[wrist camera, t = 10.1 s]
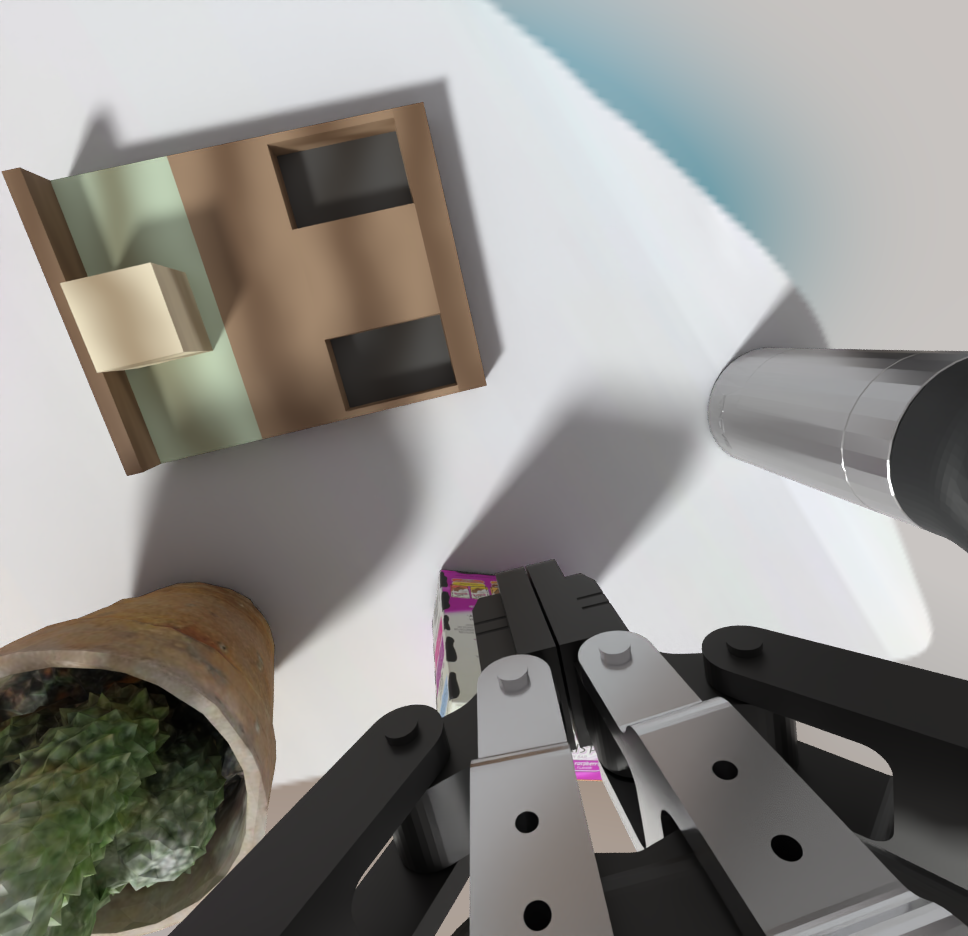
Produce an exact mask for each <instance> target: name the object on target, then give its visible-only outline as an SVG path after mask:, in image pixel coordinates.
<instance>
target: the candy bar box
mask: <svg viewBox="0 0 968 936" xmlns="http://www.w3.org/2000/svg"><path fill="white" fill-rule="evenodd" d="M497 593H499V589H498V585H497V580H496V575H489V574H478V573H468V572H458V571H448V570H440V574H439V582H438V588H437V594H436V600H435V607H434V614H433V621H432V627H433V646H434V662H435V685H436V705H437V711H438V712H439V713H440V715H441V717H444V716H446V715H448V714H450V713H452V712H454V711H456V710H457V709H459V708H461V707H462V706H464V705H465V704H466V703H468V702H469V701H470V700H471V699H472V698H473V697H474V695H475V694H476V693H477V681H478V678H479V676H480V674H481V667H480V661H479V654H478V648H477V641H476V634H475V628H474V621H473V615H472V610H473V608H474V606H475V604H476V602H477V600H478V599H479V598H481V597H485V596H489V595H493V594H497ZM573 732H574V730H573ZM574 737H575V742H576V747H577V749H576V750H572V751H571V753H572V757H573V762H574V767H575V773H576V777H577V780H587V781H602V778H601V773H600V768H599V763H598V757H597V754H596V751H595V749H594V746H593V745H591V746H587V747H583V748H580V746H579V743H578V741H577V738H576V735H575V732H574Z"/></svg>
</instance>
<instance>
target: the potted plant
mask: <svg viewBox="0 0 968 936" xmlns="http://www.w3.org/2000/svg"><path fill="white" fill-rule="evenodd" d="M274 646H275V645H274V642H273V638H272V634H271V631H270V627H269V625H268V623H267V622H266V620H265V618H264V617H263V615H262V614H261V612H260V611H259V610H258V609H257V608H256V607H255V606H254V605H253V604H252V602H251V600H250V599H248V598H247V597H245V596H243V595H241V594H239V593H237V592H235V591H234V590H232V589H227V588H223V587H219V586H215V585H211V584H206V583H201V582H194V583H177V584H174V585H171V586H168V587H165V588H162V589H158V590H156V591H154V592H151V593H148V594H146V595H143V596H140V597H135V598H127V599H122V600H120V601H118V602H116V603H114V604H112V605H110V606H108V607H106V608H103V609H100V610H98V611H95V612H93V613H90V614H88V615H85V616H83V617H80V618H78V619H72V620H69V621H65V622H61V623H57V624H53V625H49V626H47V627H44V628H42V629H40V630H38V631H36V632H33V633H31V634H29V635H27V636H25V637H23V638H20V639H18V640H16V641H14V642H12V643H9V644H8V645H6V646H4V647H2V648H0V936H141V935H145V934H149V933H152V932H156V931H159V930H162V929H165V928H167V927H170V926H172V925H175V924H177V923H180V922H182V921H183V920H184V919H185V918H186V917H187V916H188V915H189V914H190V913H191V911H192V910H193V909H194V908H195V907H196V906H197V905H198V904H199V903H200V902H201V901H202V900H203V899H204V898H205V897H206V896H207V895H208V894H209V893H210V892H211V891H212V890H213V889H214V888H215V887H216V886H217V885H218V884H219V883H220V882H221V881H222V880H223V879H224V878H225V877H226V876H227V874H228V873H229V872H230V871H231V870H232V869H233V868H234V867H235V866H236V865H237V864H238V863H239V862H240V861H241V860H242V859H243V858H244V857H245V856H246V855H247V854H248V853H249V852H250V851H251V850H252V849H253V848H254V847H255V846H256V845H257V844H258V843H259V842H260V841H261V840H262V839H263V837H264V835H265V833H266V821H267V809H268V804H269V798H270V792H271V786H272V780H273V775H274V770H275V763H276V741H275V735H274V729H273V724H272V723H273V702H274Z"/></svg>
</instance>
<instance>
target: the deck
mask: <svg viewBox="0 0 968 936" xmlns="http://www.w3.org/2000/svg"><path fill="white" fill-rule="evenodd" d="M2 174H3V176H4V179H5V181H6V183H7V186H8V188H9V191H10V193H11V196H12V198H13V200H14V203H15V205H16V208H17V210H18V213H19V215H20V217H21V220H22V222H23V225H24V227H25V230H26V232H27V234H28V237H29V239H30V242H31V244H32V247H33V249H34V251H35V254H36V256H37V259H38V261H39V264H40V266H41V268H42V271H43V273H44V276H45V278H46V281H47V283H48V285H49V288H50V290H51V293H52V295H53V298H54V300H55V302H56V305H57V307H58V310H59V312H60V315H61V317H62V319H63V322H64V324H65V327H66V329H67V332H68V334H69V336H70V339H71V341H72V344H73V346H74V349H75V351H76V353H77V356H78V358H79V361H80V363H81V366H82V368H83V370H84V373H85V375H86V378H87V380H88V383H89V385H90V387H91V390H92V392H93V395H94V397H95V400H96V402H97V404H98V407H99V409H100V412H101V414H102V417H103V419H104V421H105V424H106V426H107V429H108V431H109V434H110V436H111V438H112V441H113V443H114V446H115V448H116V451H117V453H118V455H119V458H120V460H121V463H122V465H123V468H124V470H125V472H126V475H127V476H129V475H133V474H138V473H142V472H144V471H146V470H149V469H151V468H153V467H155V466H157V465H159V464H162V463H166V462H170V461H174V460H178V459H183V458H187V457H191V456H195V455H199V454H203V453H208V452H212V451H216V450H220V449H224V448H228V447H232V446H237V445H241V444H245V443H249V442H253V441H257V440H262V439H266V438H270V437H274V436H278V435H282V434H287V433H291V432H295V431H299V430H303V429H307V428H312V427H316V426H320V425H324V424H328V423H332V422H337V421H341V420H345V419H349V418H353V417H357V416H361V415H366V414H370V413H374V412H378V411H382V410H386V409H391V408H395V407H399V406H403V405H407V404H411V403H416V402H420V401H424V400H428V399H432V398H436V397H441V396H445V395H449V394H453V393H457V392H461V391H466V390H470V389H474V388H478V387H482V386H486V385H487V384H486V380H485V376H484V371H483V367H482V362H481V358H480V353H479V349H478V344H477V340H476V335H475V331H474V326H473V322H472V317H471V313H470V309H469V304H468V300H467V295H466V291H465V286H464V282H463V277H462V273H461V268H460V264H459V259H458V255H457V251H456V246H455V242H454V237H453V233H452V228H451V224H450V219H449V215H448V210H447V206H446V201H445V197H444V192H443V188H442V184H441V179H440V175H439V170H438V166H437V161H436V157H435V152H434V148H433V143H432V139H431V134H430V130H429V125H428V121H427V117H426V112H425V108H424V103H423V102H421V103H416V104H411V105H407V106H402V107H397V108H392V109H388V110H383V111H378V112H373V113H369V114H364V115H359V116H354V117H350V118H345V119H340V120H335V121H331V122H326V123H321V124H316V125H312V126H307V127H302V128H297V129H293V130H288V131H283V132H278V133H274V134H269V135H264V136H260V137H255V138H250V139H245V140H241V141H236V142H231V143H226V144H222V145H217V146H212V147H207V148H203V149H198V150H193V151H188V152H184V153H179V154H174V155H169V156H165V157H160V158H155V159H150V160H146V161H141V162H136V163H131V164H127V165H122V166H117V167H112V168H108V169H103V170H98V171H94V172H89V173H84V174H79V175H75V176H70V177H65V178H60V179H56V180H51V181H50V180H48V179H45V178H43V177H41V176H38V175H36V174H34V173H31V172H29V171H27V170H24V169H22V168H15V169H11V170H6V171H2ZM150 262H151V263H154V264H158V265H161V266H164V267H168V268H171V269H175V270H178V271H182V272H185V273H186V275H187V278H188V281H189V284H190V287H191V289H192V292H193V295H194V298H195V301H196V303H197V306H198V309H199V312H200V315H201V318H202V320H203V323H204V326H205V329H206V332H207V334H208V337H209V340H210V343H211V346H212V348H213V351H210V352H206V353H201V354H197V355H193V356H189V357H185V358H181V359H176V360H172V361H168V362H164V363H160V364H155V365H151V366H147V367H143V368H139V369H130V370H119V371H109V372H98V373H97V371H96V369H95V367H94V364H93V362H92V359H91V357H90V354H89V352H88V350H87V347H86V345H85V342H84V340H83V338H82V335H81V333H80V330H79V328H78V325H77V323H76V321H75V318H74V316H73V313H72V311H71V309H70V306H69V304H68V301H67V299H66V297H65V294H64V292H63V289H62V287H61V284H60V283H63V282H68V281H72V280H76V279H81V278H85V277H89V276H94V275H98V274H102V273H107V272H111V271H116V270H120V269H124V268H129V267H133V266H137V265H142V264H146V263H150Z"/></svg>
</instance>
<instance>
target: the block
mask: <svg viewBox="0 0 968 936" xmlns="http://www.w3.org/2000/svg"><path fill="white" fill-rule="evenodd" d="M60 284H61V287H62V289H63V292H64V294H65V297H66V299H67V301H68V304H69V306H70V309H71V311H72V313H73V316H74V318H75V321H76V323H77V325H78V328H79V330H80V333H81V335H82V338H83V340H84V342H85V345H86V347H87V350H88V352H89V354H90V357H91V359H92V362H93V364H94V367H95V369H96V371H97V373H98V372H109V371H119V370H130V369H139V368H143V367H147V366H151V365H155V364H160V363H164V362H168V361H172V360H176V359H181V358H185V357H189V356H193V355H197V354H201V353H206V352H210V351H213V348H212V346H211V343H210V340H209V337H208V334H207V332H206V329H205V326H204V323H203V320H202V318H201V315H200V312H199V309H198V306H197V303H196V301H195V298H194V295H193V292H192V289H191V287H190V284H189V281H188V278H187V275H186V273H185V272H182V271H178V270H175V269H171V268H168V267H164V266H161V265H158V264H154V263H151V262H150V263H146V264H142V265H137V266H133V267H129V268H124V269H120V270H116V271H111V272H107V273H102V274H98V275H94V276H89V277H85V278H81V279H76V280H72V281H68V282H63V283H60Z"/></svg>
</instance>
